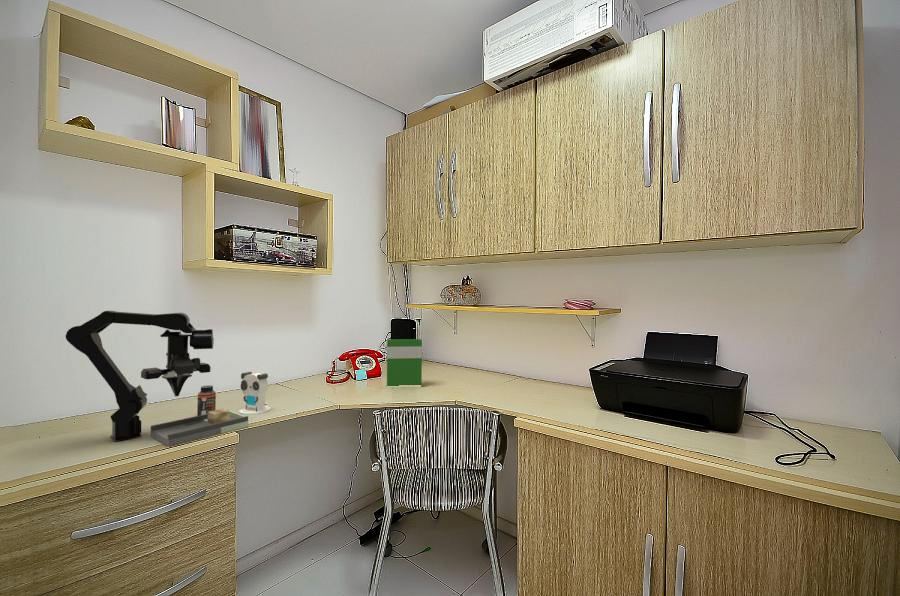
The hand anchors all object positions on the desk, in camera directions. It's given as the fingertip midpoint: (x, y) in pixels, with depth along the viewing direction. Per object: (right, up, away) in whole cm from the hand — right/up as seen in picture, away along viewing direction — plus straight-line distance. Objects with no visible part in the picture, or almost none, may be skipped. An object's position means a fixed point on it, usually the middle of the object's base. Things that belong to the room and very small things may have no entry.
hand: (176, 396), depth 134 cm
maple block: (+11, -10, +5) cm, 16 cm away
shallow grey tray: (+8, -12, 0) cm, 15 cm away
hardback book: (+68, -13, +73) cm, 101 cm away
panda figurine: (+13, -12, +26) cm, 32 cm away
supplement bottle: (-1, -12, +18) cm, 22 cm away
